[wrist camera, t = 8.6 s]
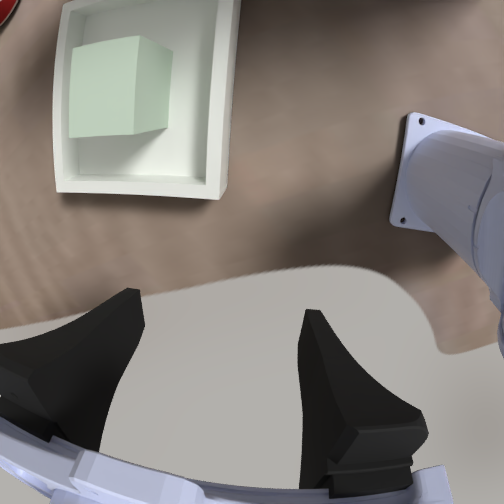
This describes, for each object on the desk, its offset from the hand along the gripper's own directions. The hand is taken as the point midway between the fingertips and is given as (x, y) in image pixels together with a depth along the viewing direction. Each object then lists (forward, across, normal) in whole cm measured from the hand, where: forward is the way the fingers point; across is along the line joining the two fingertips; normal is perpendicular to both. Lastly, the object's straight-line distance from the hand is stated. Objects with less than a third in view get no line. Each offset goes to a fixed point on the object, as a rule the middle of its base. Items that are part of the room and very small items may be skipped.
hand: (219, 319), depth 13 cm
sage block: (+8, +7, -10) cm, 15 cm away
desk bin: (+9, +7, -10) cm, 15 cm away
